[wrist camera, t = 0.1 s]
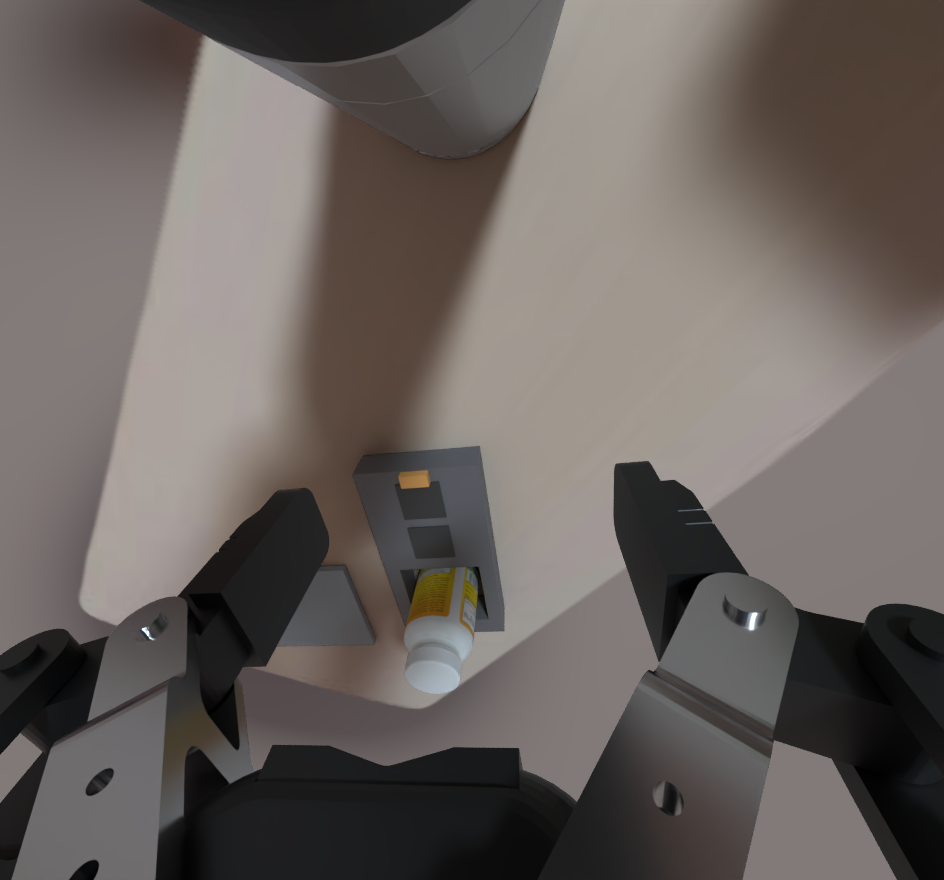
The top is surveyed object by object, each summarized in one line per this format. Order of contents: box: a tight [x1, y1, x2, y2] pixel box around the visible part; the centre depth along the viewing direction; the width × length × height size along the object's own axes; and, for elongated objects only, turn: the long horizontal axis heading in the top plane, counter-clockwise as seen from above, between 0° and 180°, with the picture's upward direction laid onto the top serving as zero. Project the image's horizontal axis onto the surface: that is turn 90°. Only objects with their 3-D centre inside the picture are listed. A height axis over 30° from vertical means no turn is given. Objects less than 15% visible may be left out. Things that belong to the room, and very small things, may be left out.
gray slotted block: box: [353, 446, 504, 632], centre depth 34 cm, size 18×9×3 cm, turn 8°
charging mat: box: [277, 565, 376, 646], centre depth 41 cm, size 11×11×1 cm
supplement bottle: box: [404, 567, 479, 694], centre depth 33 cm, size 5×5×10 cm
